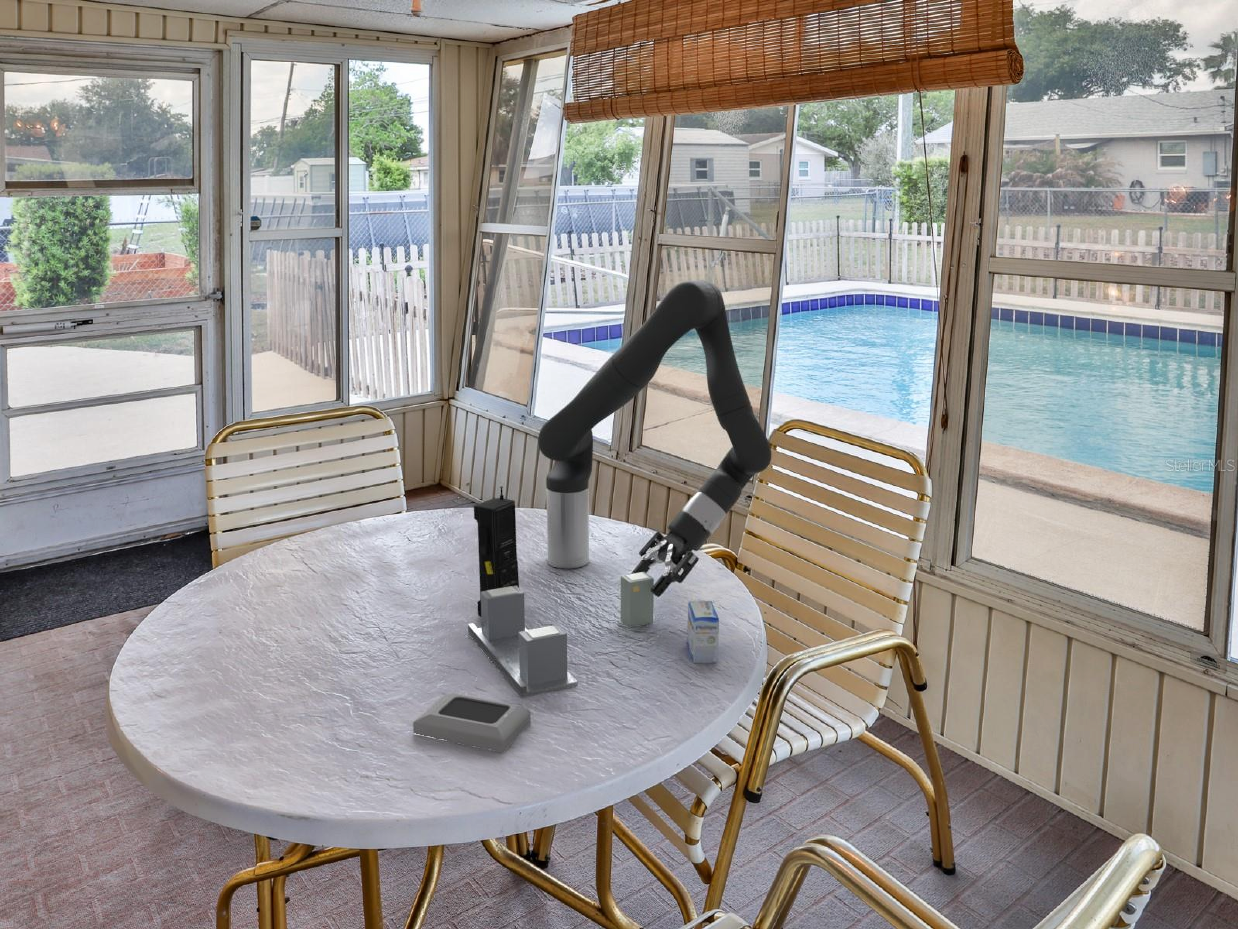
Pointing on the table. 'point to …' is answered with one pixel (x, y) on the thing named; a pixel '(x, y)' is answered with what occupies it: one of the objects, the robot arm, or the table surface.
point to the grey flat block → (473, 721)
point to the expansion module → (637, 599)
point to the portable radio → (496, 544)
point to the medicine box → (703, 632)
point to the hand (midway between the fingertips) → (643, 586)
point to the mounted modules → (525, 635)
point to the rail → (514, 664)
